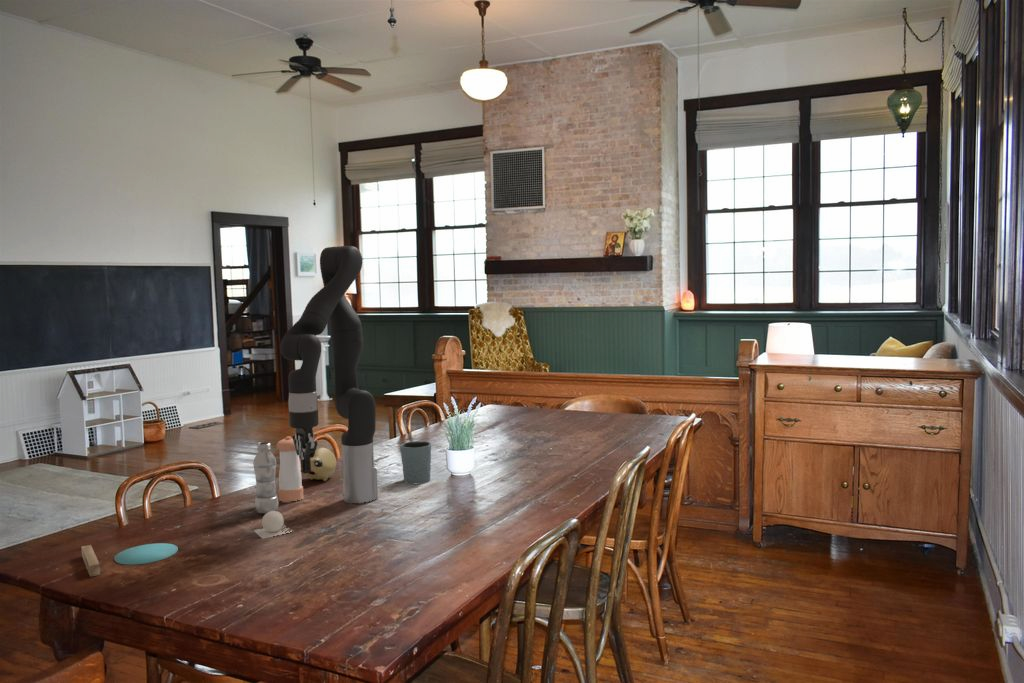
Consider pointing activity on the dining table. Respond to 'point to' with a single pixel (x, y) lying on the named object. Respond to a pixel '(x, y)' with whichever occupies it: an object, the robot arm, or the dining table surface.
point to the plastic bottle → (265, 479)
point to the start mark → (266, 534)
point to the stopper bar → (90, 560)
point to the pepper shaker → (289, 472)
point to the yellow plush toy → (322, 464)
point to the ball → (272, 521)
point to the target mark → (146, 553)
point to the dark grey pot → (416, 461)
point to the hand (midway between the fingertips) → (305, 472)
